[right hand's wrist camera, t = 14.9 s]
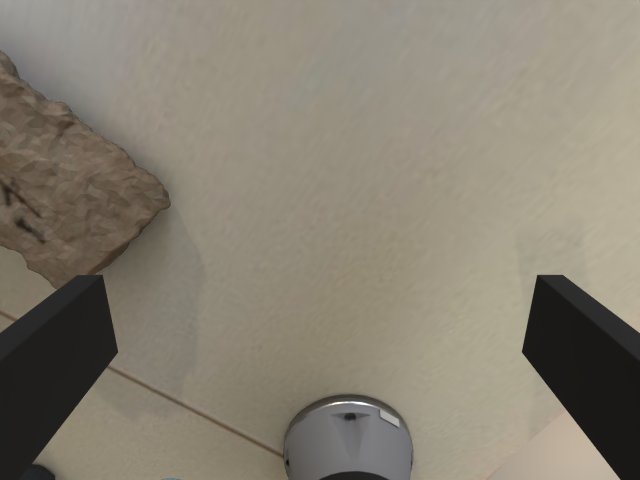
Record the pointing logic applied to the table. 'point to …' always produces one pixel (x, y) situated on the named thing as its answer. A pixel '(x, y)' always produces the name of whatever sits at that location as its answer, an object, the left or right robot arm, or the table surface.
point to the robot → (37, 474)
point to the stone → (65, 186)
